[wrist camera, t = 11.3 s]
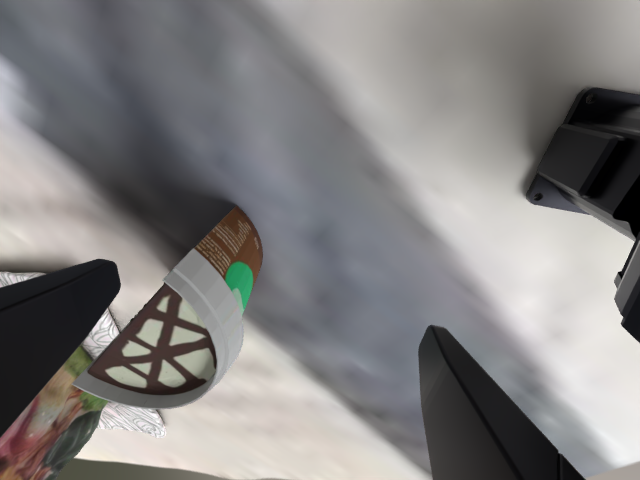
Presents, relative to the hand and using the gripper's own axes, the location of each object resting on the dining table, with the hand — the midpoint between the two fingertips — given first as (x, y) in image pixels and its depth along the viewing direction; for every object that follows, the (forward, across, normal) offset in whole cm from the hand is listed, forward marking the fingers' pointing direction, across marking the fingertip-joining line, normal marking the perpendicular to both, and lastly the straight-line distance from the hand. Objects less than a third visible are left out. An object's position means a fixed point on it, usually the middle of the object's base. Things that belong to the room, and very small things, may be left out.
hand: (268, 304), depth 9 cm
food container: (+13, +6, +9) cm, 17 cm away
